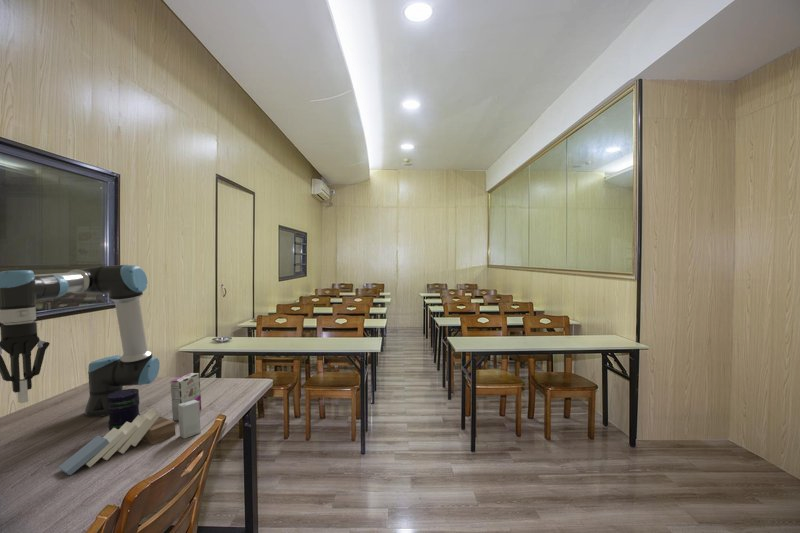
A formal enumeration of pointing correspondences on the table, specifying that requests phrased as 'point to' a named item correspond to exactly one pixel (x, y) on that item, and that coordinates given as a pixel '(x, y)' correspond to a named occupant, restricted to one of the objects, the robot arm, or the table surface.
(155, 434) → the end block
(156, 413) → the tile
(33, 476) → the table surface
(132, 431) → the tile
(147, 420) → the tile
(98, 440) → the tile
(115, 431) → the tile
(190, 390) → the candy bar box
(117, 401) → the storage jar
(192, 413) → the skincare box
